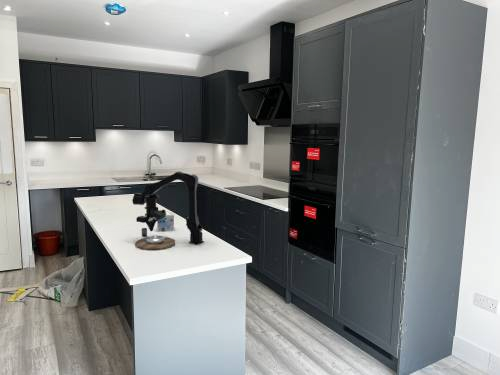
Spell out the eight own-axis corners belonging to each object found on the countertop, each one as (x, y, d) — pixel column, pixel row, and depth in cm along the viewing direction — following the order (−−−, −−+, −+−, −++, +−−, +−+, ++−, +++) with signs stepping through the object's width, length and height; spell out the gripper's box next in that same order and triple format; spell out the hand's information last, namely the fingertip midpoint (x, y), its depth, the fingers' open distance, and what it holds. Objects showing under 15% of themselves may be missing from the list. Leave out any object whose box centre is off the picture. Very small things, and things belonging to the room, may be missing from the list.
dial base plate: (182, 243, 221) (182, 240, 220) (156, 252, 201) (156, 249, 201) (154, 237, 231) (154, 234, 231) (126, 246, 212) (126, 243, 212)
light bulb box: (157, 231, 244) (157, 215, 242) (157, 229, 250) (156, 213, 249) (174, 230, 247) (174, 214, 245) (173, 228, 253) (173, 212, 252)
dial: (168, 240, 218) (168, 229, 217) (156, 244, 209) (156, 233, 208) (148, 237, 224) (148, 226, 224) (136, 241, 215) (136, 230, 215)
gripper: (150, 209, 210) (150, 236, 212) (172, 204, 226) (172, 229, 228) (135, 207, 215) (135, 233, 217) (158, 202, 231) (158, 227, 234)
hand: (151, 231), depth 224 cm, fingers closed
